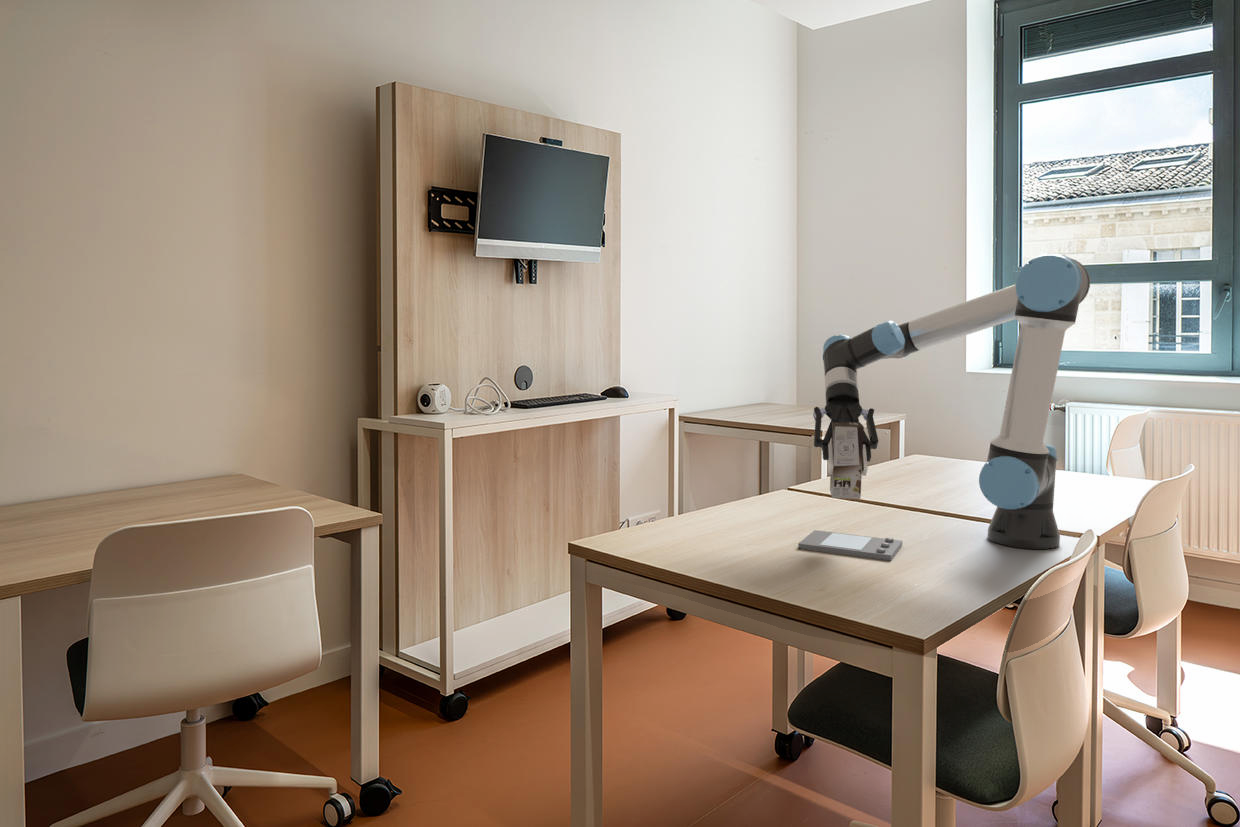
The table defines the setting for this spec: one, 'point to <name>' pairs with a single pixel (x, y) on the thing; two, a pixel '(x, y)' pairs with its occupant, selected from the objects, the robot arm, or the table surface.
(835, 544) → the control panel
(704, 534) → the table surface
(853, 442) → the coffee box
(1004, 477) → the robot arm
